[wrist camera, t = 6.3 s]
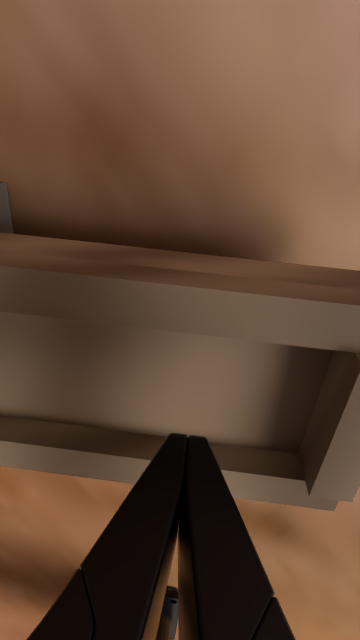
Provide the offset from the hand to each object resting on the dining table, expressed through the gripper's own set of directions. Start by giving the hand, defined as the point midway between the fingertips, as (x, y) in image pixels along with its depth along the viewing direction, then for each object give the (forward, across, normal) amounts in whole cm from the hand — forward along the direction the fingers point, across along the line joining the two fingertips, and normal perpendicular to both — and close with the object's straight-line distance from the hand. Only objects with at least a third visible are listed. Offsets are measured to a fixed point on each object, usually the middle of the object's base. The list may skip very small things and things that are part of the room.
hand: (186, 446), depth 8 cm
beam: (+6, +9, 0) cm, 11 cm away
